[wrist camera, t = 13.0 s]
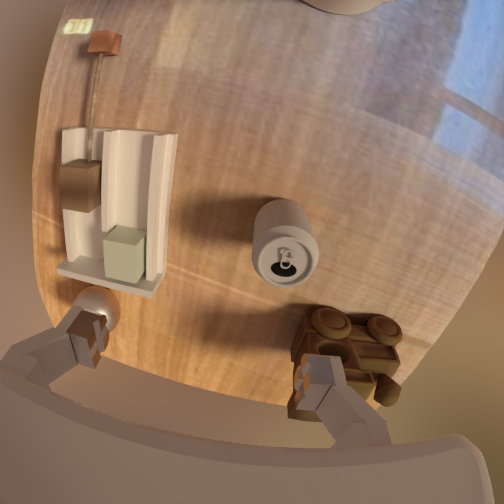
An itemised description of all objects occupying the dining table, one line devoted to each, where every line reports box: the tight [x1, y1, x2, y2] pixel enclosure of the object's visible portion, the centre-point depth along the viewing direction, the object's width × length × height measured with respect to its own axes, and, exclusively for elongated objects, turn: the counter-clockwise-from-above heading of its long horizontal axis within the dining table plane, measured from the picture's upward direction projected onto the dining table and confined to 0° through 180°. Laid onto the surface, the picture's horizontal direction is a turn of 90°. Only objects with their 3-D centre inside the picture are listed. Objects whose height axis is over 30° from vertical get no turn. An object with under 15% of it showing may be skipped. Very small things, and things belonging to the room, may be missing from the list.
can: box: [252, 199, 319, 288], centre depth 37 cm, size 8×8×12 cm
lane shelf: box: [56, 126, 178, 298], centre depth 38 cm, size 22×17×7 cm
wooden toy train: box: [287, 307, 402, 422], centre depth 44 cm, size 20×11×17 cm, turn 78°
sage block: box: [103, 225, 147, 284], centre depth 40 cm, size 6×5×5 cm
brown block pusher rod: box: [59, 30, 122, 213], centre depth 32 cm, size 24×5×7 cm, turn 169°
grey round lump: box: [72, 286, 120, 333], centre depth 45 cm, size 9×10×10 cm
